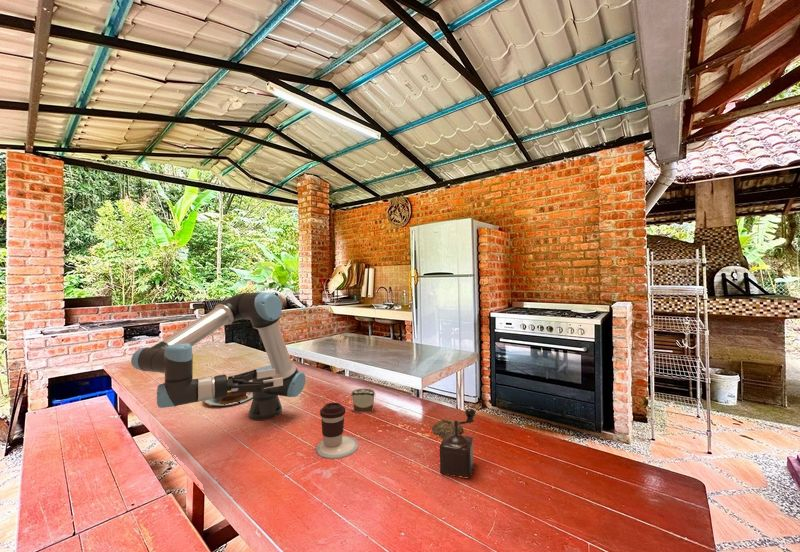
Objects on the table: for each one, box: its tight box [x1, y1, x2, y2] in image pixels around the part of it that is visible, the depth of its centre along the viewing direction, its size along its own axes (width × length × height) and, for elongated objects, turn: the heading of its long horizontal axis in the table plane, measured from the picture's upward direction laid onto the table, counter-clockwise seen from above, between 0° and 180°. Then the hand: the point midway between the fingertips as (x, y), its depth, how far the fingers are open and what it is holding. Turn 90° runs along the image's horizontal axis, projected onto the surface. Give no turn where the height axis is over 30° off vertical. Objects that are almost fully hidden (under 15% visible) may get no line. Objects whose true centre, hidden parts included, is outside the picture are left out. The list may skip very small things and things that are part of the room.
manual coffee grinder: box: [439, 408, 477, 478], centre depth 115 cm, size 16×11×18 cm
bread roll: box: [431, 418, 464, 439], centre depth 140 cm, size 13×12×5 cm
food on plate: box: [204, 391, 253, 407], centre depth 180 cm, size 25×25×7 cm
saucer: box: [316, 435, 359, 460], centre depth 128 cm, size 16×16×1 cm
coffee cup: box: [319, 402, 346, 447], centre depth 129 cm, size 10×10×15 cm
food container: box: [350, 387, 376, 413], centre depth 164 cm, size 12×6×10 cm, turn 84°
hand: (278, 376), depth 122 cm, fingers open, 13 cm apart
